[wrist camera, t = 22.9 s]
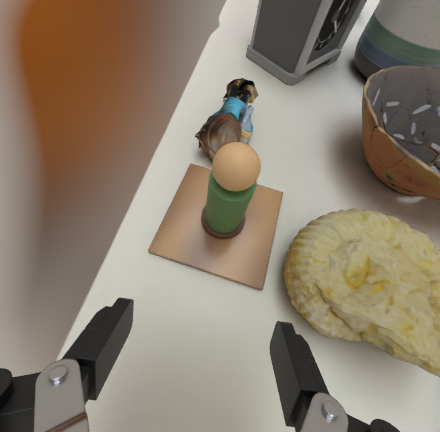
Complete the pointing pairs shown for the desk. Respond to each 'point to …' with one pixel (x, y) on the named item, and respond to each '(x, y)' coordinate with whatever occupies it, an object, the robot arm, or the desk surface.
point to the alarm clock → (300, 35)
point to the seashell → (369, 283)
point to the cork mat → (213, 247)
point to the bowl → (404, 128)
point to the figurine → (229, 119)
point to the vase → (400, 36)
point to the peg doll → (230, 189)
